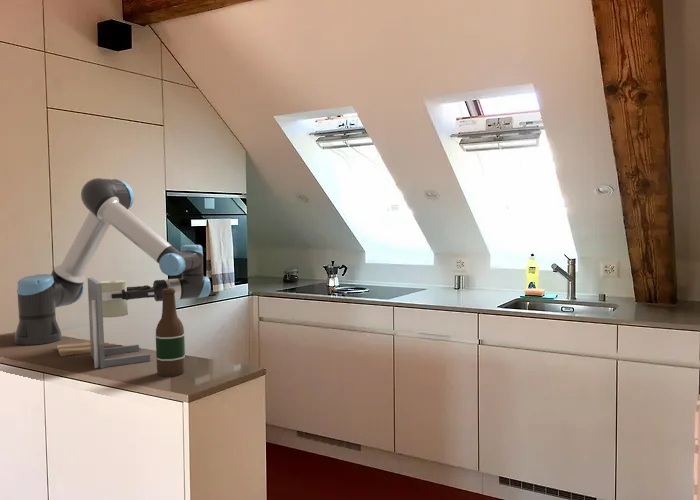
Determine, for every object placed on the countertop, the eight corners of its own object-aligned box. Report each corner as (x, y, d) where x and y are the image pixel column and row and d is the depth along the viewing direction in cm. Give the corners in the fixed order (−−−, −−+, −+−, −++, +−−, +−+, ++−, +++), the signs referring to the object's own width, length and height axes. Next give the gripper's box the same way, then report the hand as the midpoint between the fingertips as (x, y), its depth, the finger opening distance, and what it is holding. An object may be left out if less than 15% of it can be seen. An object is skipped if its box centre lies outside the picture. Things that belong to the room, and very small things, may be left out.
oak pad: (57, 348, 210) (57, 345, 210) (98, 343, 216) (98, 340, 216) (61, 356, 199) (60, 352, 198) (104, 350, 205) (104, 347, 205)
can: (100, 318, 206) (99, 282, 205) (97, 314, 214) (96, 279, 213) (129, 315, 210) (128, 280, 209) (126, 312, 218) (124, 278, 218)
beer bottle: (158, 378, 170) (155, 291, 168) (155, 371, 177) (152, 288, 176) (187, 374, 173) (184, 289, 172) (183, 368, 180) (180, 286, 179)
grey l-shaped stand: (86, 356, 198) (82, 278, 197) (137, 349, 206) (134, 274, 204) (95, 369, 181) (91, 284, 179) (151, 361, 189) (148, 280, 187)
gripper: (174, 304, 212) (103, 310, 200) (159, 297, 230) (94, 302, 219) (173, 282, 211) (103, 287, 200) (158, 276, 230) (93, 281, 218)
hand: (98, 295), depth 209 cm, fingers closed on can, 9 cm apart
